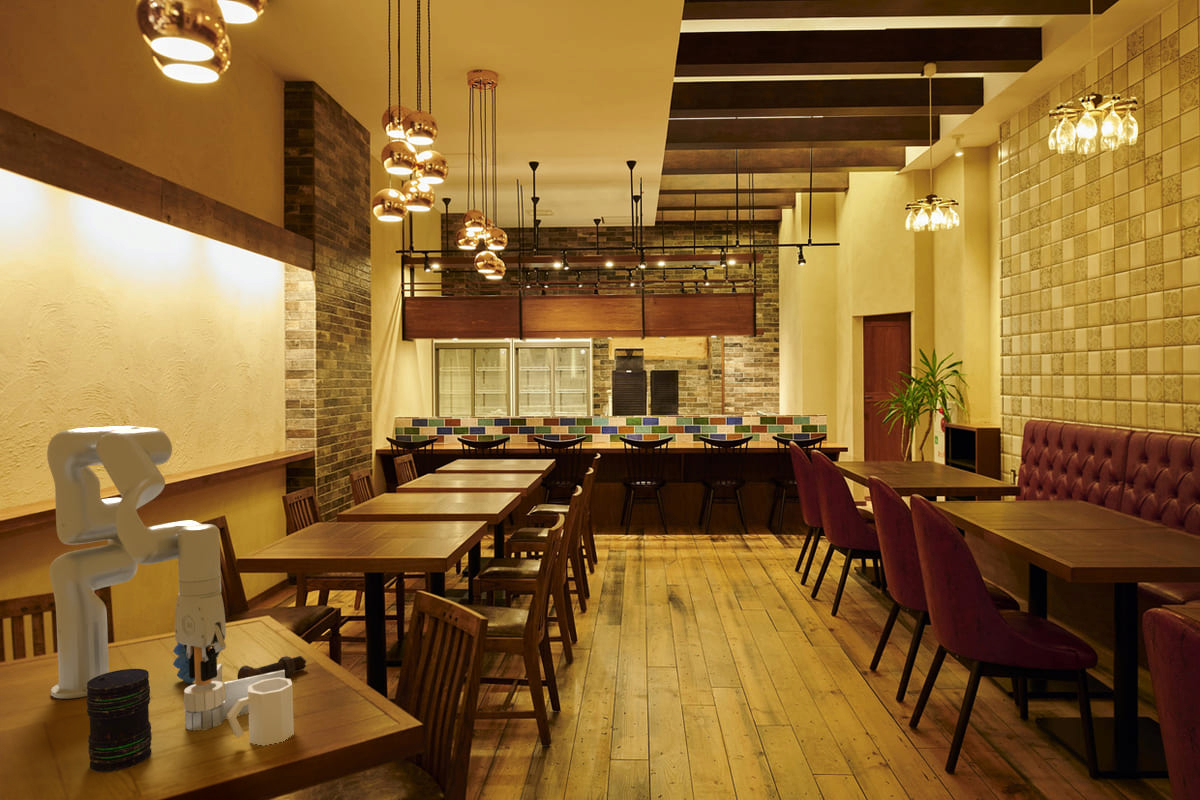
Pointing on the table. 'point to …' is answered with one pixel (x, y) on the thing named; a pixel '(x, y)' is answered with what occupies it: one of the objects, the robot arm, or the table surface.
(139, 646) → the table surface
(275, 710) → the mug
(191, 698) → the hinge leaf cream
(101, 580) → the robot arm
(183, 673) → the grapes
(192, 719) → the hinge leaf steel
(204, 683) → the hinge pin
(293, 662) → the bolt
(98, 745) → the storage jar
